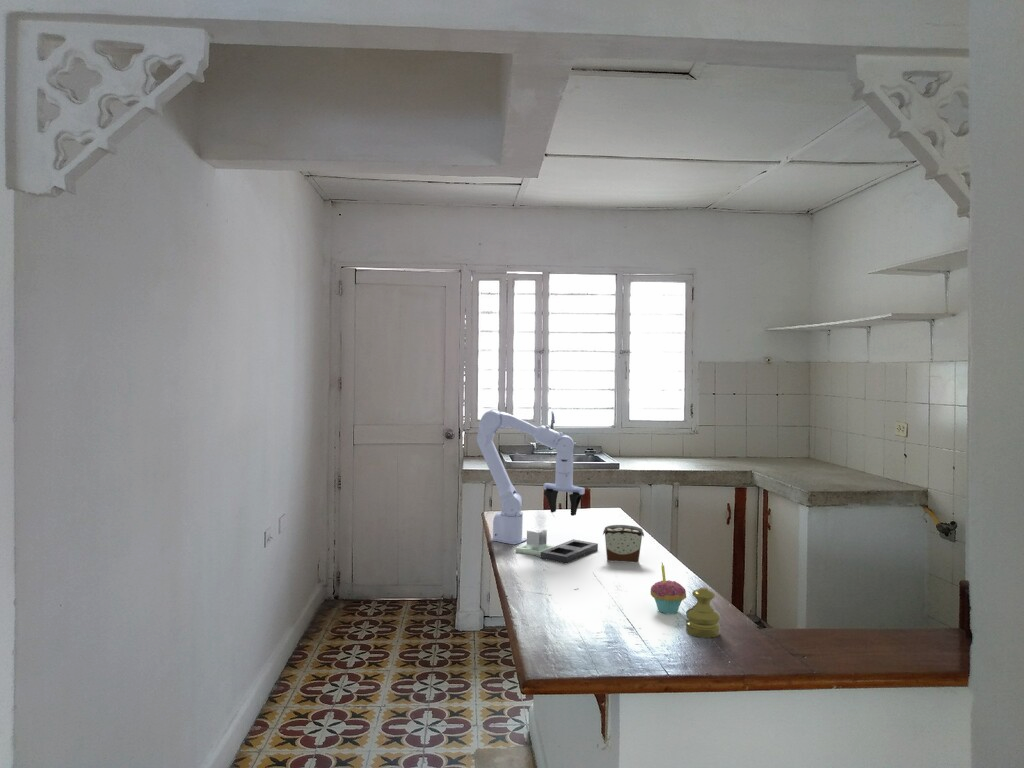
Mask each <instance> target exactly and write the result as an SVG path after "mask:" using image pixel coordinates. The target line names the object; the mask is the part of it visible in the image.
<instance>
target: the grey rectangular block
mask: <svg viewBox="0 0 1024 768" xmlns="http://www.w3.org/2000/svg"><path fill="white" fill-rule="evenodd" d="M547 532H548V530H547V529H542V528H536V527H534V528H531V529H528V530H526V539H527V540H526V544H527V549H531V550H536V551H541V550H544V549H546V545H547V542H548V541H547V540H548V538H547V537H548V536H547V534H548V533H547Z"/></svg>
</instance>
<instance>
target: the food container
mask: <svg viewBox="0 0 1024 768" xmlns="http://www.w3.org/2000/svg"><path fill="white" fill-rule="evenodd" d="M602 535H604V538H605V541H604V542H605V550H606V561H607V562H611V561H613V563H615V562H616V563H632V562H634V564H638V563H639V562H640V561H639V560H640V556H641V555H640V553H641V549H642V548H641V545H642V539H643V538H645V533H644V530H643V528H641V527H638V526H633V525H630V524H629V525H628V524H611V525H607V526H605V527H604V529H603V533H602Z"/></svg>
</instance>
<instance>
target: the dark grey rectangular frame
mask: <svg viewBox="0 0 1024 768" xmlns="http://www.w3.org/2000/svg"><path fill="white" fill-rule="evenodd" d="M598 548H599V543H597V542H596V543H595V542H591V541H590V542H589V541H584V540H580V539H574V538H572V539H571V540H568V541H565V542H562V543H560V544H557V545H555V547H552V548H550V549H547V550H544V551H542V552H541V557H540V559H541V558H543V559H542V560H546V559H547V561H551V562H556V561H557V562H556V563H561V562H562V563H561V564H566V563H567V564H569V563H571V562H573V561H576V560H578V559H581V558H582V557H585V556H587V555H589V553H590V554H592V553H594V552H596V551H598V550H599V549H598ZM568 562H569V563H568Z"/></svg>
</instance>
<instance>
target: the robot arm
mask: <svg viewBox="0 0 1024 768" xmlns="http://www.w3.org/2000/svg"><path fill="white" fill-rule="evenodd" d="M500 427H501V429H503V428H513V429H515V430H518V431H521V432H523V433H525V434H528V435H530V436H533V438H534V441H535V442H536V443H539V444H541V445H543V446H545V447H548V448H550V449H552V450H554V449H555V450H556V458H555V474H554V475H555V477H554V478H555V479H554V480H555V481H554V483H551V482H545V483H543V490H544V495H545V496H546V497H545V498H546V499H547V502H548V506H549V510H550V512H551V513H556V512H557V499H558V493H559V492H565V493H570V494H569V495H568V497H569V499H570V500H569V501H570V516H576V514H577V511H578V509H579V504H580V502H581V501H582V498H583V497H584V495H585V494H586V493H585V490H586V488H585V487H581V486H577V485H573V484H574V483H573V481H574V480H573V479H574V452H573V451H574V447H575V446H574V445H575V442H574V440H573V438H572V437H571V436H569V435H568V434H564V433H563V432H561V431H560V432H559V431H556V430H554V429H552V428H550V426H549V425H539V426H535V425H533V424H532V423H529V422H528V421H526V420H524V419H521V418H520V417H517V416H515V415H513V414H510V413H508V412H505V411H500V410H499V409H496V408H495V409H494V408H493V409H490V410H489V411H486V412H484V414H483V415H482V417H481V418H480V420H479V422H478V430H477V436H476V441H477V445H478V447H479V450H480V451H481V454H482V456H483V458H484V460H485V462H486V465H487V467H488V470H489V472H490V474H491V476H492V479H493V481H494V483H495V486H496V488H497V491H498V496H499V499H500V508H501V512H497V513H495V515H494V516H493V521H492V538H491V541H494V542H500V543H505V544H508V545H517V544H520V543H523V542H527V537H526V538H525V537H523V523H524V522H523V520H524V519H523V514H524V513H523V511H522V510H521V508H522V506H523V503H524V502H523V501H524V500H523V497H522V495H521V494H520V493H518V492H517V490H516V488H515V486H514V485H513V483H512V481H511V479H510V476H509V475H508V472H507V470H506V468H505V466H504V463H503V461H502V459H501V456H500V454H499V452H498V450H497V447H496V445H495V443H494V437H495V436H496V433H497V432H498V429H499V428H500Z"/></svg>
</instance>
